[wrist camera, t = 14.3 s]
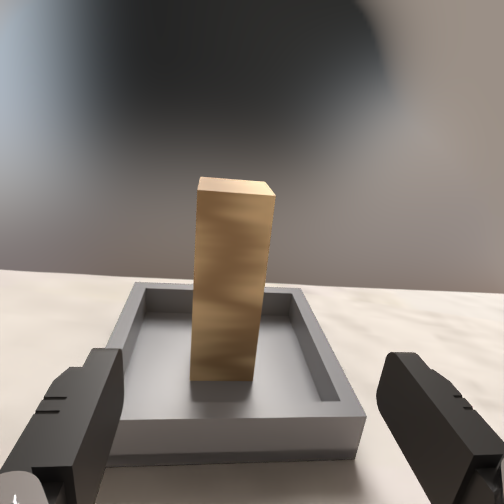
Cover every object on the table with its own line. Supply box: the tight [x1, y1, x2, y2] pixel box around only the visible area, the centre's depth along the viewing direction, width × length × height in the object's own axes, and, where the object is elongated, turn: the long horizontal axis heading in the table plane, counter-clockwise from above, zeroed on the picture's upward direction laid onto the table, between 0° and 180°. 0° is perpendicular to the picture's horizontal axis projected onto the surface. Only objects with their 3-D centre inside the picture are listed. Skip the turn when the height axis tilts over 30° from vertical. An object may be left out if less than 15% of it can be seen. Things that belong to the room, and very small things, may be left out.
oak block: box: [189, 177, 276, 381], centre depth 22 cm, size 4×4×12 cm
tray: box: [105, 282, 367, 467], centre depth 24 cm, size 14×14×3 cm
